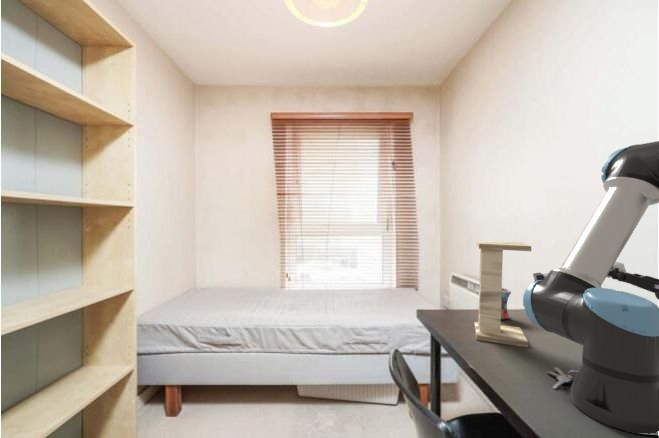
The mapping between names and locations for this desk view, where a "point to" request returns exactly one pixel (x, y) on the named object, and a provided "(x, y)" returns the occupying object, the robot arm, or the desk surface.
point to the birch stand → (495, 295)
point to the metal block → (543, 276)
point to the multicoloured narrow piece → (504, 303)
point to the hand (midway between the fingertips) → (582, 264)
